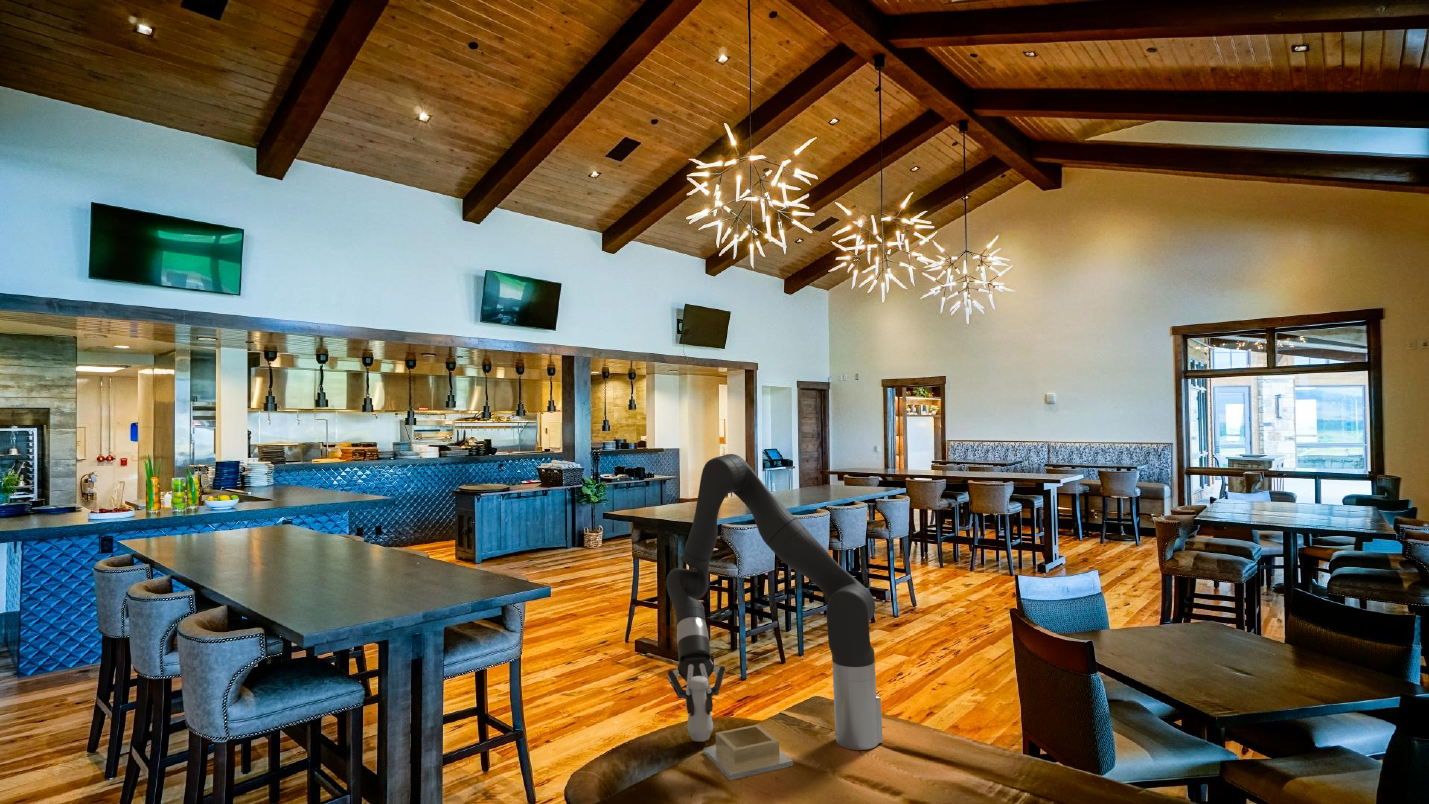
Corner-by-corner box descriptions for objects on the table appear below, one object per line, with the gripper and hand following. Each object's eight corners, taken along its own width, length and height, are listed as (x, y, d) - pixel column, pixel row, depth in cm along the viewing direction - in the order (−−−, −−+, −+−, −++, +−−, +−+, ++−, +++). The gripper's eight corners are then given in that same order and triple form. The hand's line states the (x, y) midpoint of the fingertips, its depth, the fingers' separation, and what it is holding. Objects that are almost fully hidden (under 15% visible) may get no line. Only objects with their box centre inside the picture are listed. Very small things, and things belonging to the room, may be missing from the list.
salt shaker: (710, 743, 151) (708, 682, 152) (684, 742, 152) (682, 681, 153) (715, 733, 156) (713, 673, 157) (691, 732, 158) (688, 673, 158)
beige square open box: (762, 740, 154) (761, 719, 155) (793, 765, 141) (792, 743, 142) (703, 752, 149) (703, 731, 149) (729, 780, 136) (729, 756, 136)
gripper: (663, 635, 162) (668, 708, 149) (723, 631, 164) (733, 702, 151) (663, 652, 167) (668, 724, 154) (721, 648, 169) (731, 718, 156)
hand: (700, 713), depth 153 cm, fingers closed on salt shaker, 3 cm apart
